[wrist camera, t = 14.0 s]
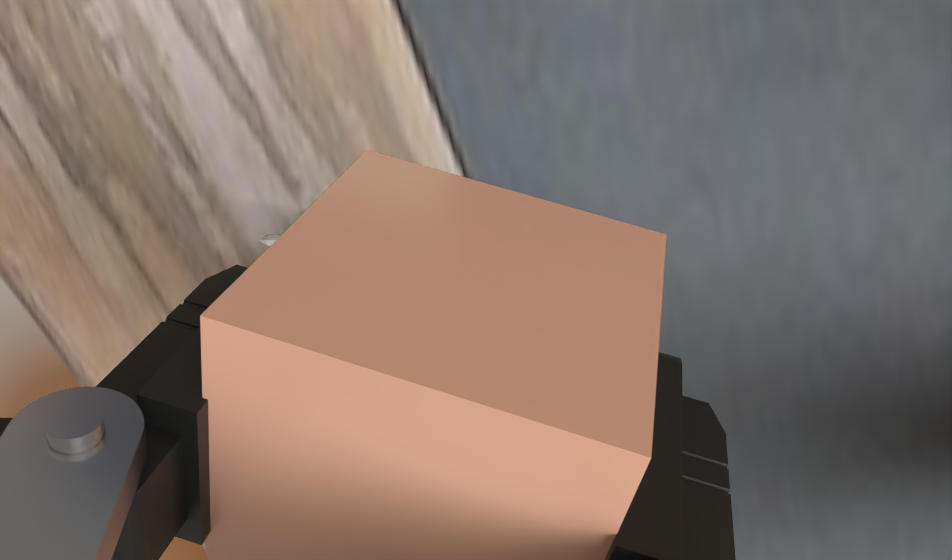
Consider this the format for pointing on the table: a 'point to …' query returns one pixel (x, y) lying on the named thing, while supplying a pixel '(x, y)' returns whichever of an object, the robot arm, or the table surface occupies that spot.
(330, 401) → the terracotta block
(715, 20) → the table surface
